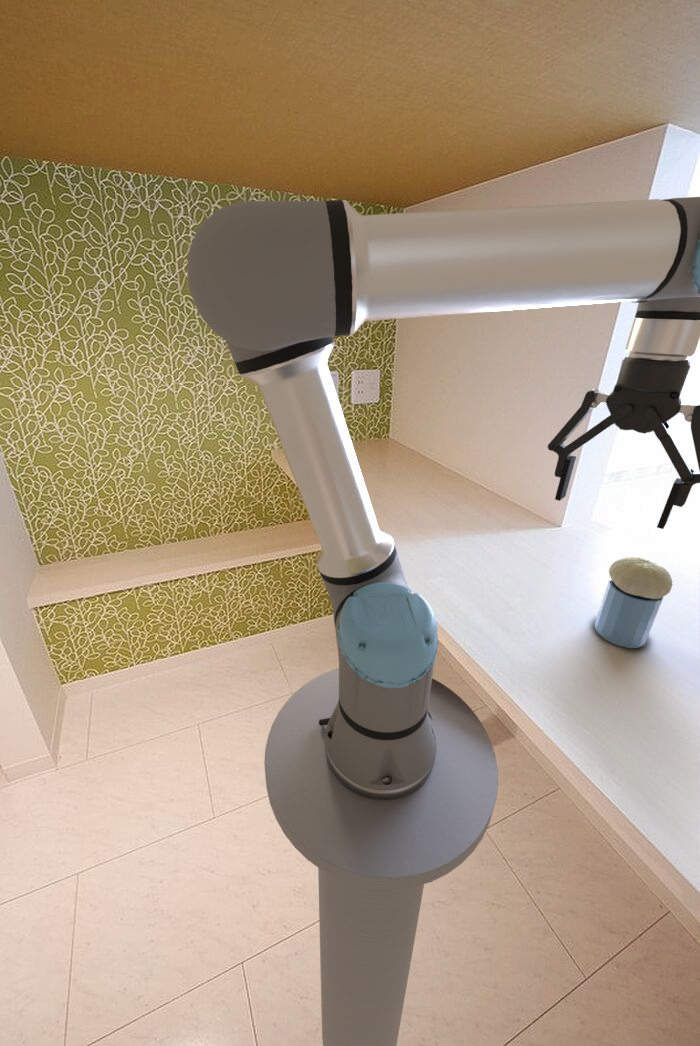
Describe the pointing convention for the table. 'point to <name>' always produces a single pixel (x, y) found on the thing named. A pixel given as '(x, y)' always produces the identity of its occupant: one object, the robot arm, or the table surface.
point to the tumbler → (625, 617)
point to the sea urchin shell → (641, 577)
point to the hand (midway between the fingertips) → (607, 511)
